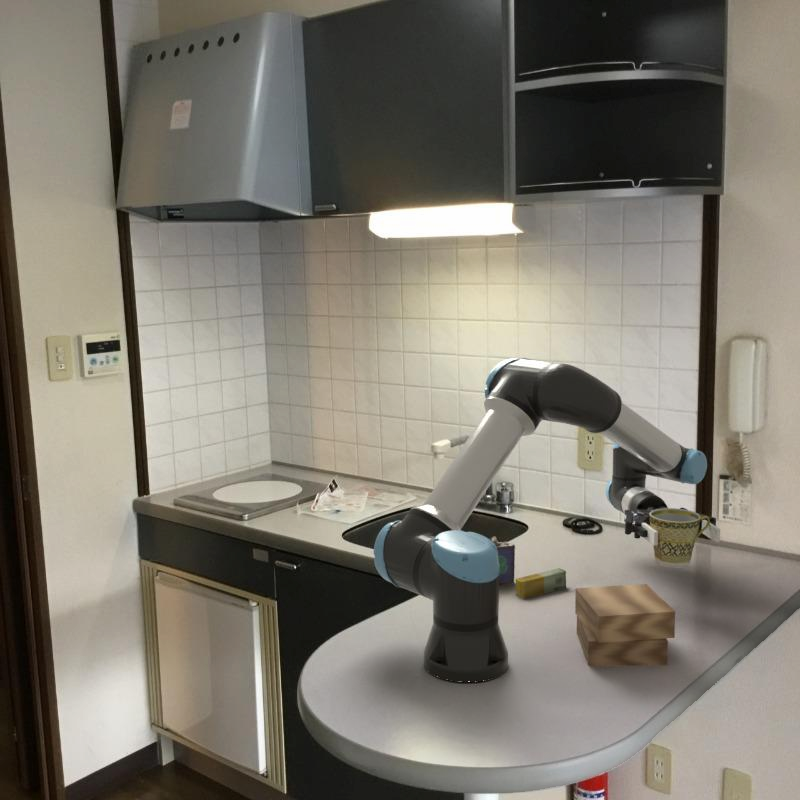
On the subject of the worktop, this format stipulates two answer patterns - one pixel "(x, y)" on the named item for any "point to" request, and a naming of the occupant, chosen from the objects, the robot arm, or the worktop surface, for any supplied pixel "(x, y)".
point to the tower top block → (624, 613)
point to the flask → (505, 561)
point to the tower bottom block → (621, 650)
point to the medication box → (540, 583)
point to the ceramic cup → (675, 535)
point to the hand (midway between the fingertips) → (687, 537)
